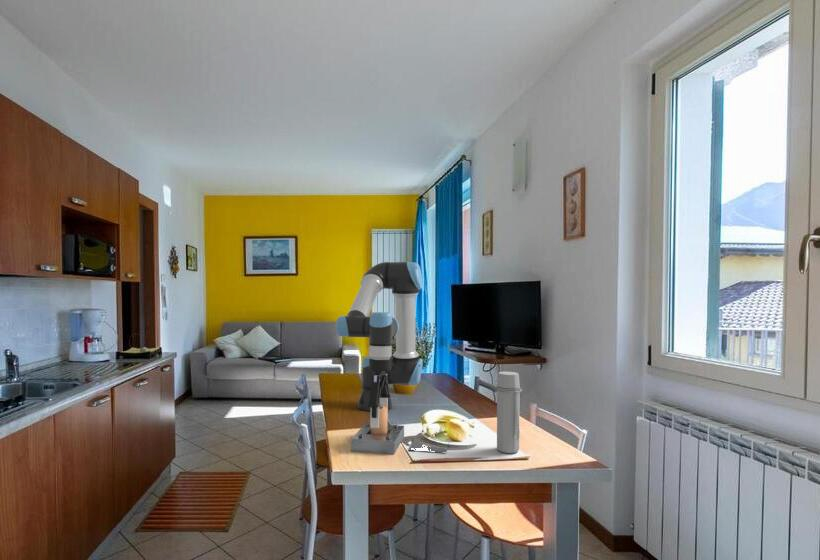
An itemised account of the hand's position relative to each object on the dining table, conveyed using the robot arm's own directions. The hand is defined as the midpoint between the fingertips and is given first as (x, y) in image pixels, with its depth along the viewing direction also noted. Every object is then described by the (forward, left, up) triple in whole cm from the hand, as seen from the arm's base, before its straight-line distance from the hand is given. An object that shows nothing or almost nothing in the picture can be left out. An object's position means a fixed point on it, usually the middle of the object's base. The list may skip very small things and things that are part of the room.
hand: (379, 422), depth 154 cm
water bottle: (-1, +43, -8) cm, 44 cm away
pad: (-1, +17, -7) cm, 19 cm away
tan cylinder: (0, 0, -7) cm, 7 cm away
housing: (0, 0, -7) cm, 7 cm away
